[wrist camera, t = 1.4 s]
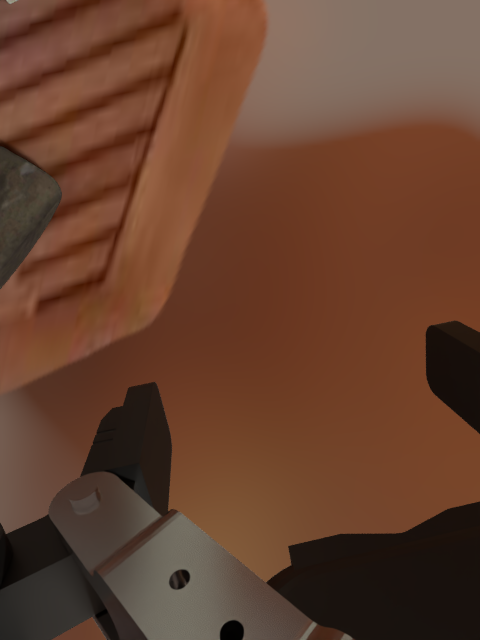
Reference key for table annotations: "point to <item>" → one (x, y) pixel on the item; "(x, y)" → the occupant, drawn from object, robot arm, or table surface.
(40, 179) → the decorative stone
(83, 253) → the table surface
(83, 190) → the table surface
